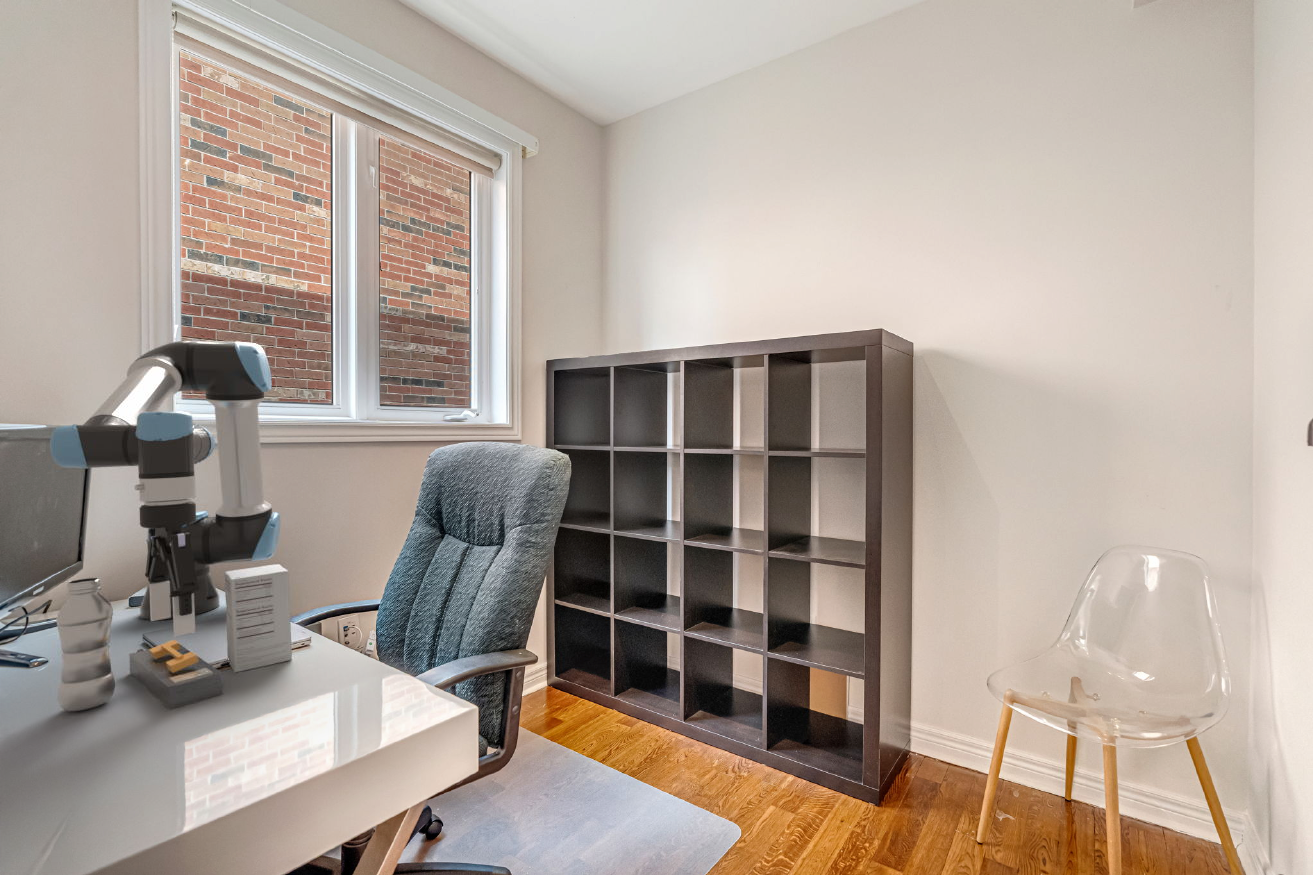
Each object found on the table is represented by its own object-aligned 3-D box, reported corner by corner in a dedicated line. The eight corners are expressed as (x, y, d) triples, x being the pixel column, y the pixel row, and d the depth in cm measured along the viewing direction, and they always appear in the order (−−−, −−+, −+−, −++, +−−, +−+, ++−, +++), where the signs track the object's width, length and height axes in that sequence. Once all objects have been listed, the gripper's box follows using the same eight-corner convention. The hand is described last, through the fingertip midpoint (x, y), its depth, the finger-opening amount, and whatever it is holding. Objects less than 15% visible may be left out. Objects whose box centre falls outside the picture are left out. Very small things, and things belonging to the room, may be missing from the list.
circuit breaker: (116, 660, 117) (115, 641, 116) (162, 649, 122) (162, 631, 122) (169, 709, 95) (168, 686, 95) (222, 693, 101) (221, 671, 101)
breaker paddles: (151, 655, 108) (148, 647, 108) (175, 645, 111) (173, 637, 111) (172, 672, 100) (169, 663, 100) (198, 661, 103) (196, 652, 103)
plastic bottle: (50, 711, 96) (45, 583, 95) (105, 694, 102) (100, 573, 101) (68, 720, 93) (63, 587, 92) (124, 702, 99) (119, 577, 98)
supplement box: (293, 660, 115) (290, 570, 115) (233, 674, 109) (230, 579, 109) (282, 647, 123) (280, 562, 122) (226, 659, 116) (223, 570, 116)
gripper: (121, 500, 110) (125, 618, 110) (161, 509, 94) (166, 647, 95) (173, 495, 116) (177, 608, 116) (219, 504, 100) (223, 634, 101)
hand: (172, 626), depth 105 cm, fingers open, 13 cm apart
